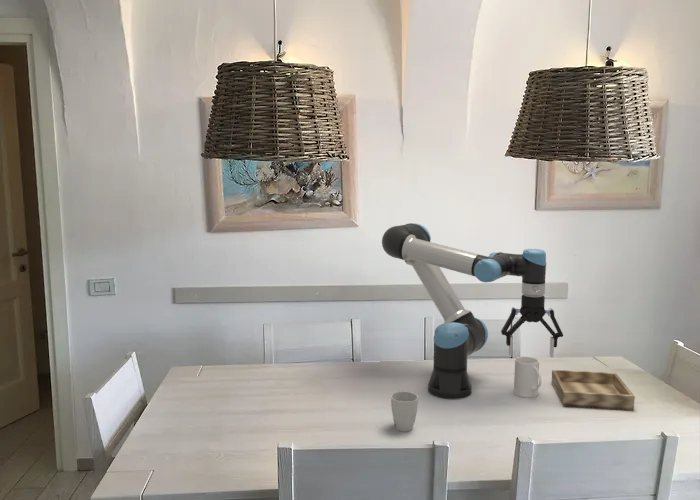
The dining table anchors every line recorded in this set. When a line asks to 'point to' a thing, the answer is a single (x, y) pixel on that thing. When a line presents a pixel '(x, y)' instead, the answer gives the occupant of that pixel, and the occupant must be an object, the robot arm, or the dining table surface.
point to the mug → (526, 377)
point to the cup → (404, 410)
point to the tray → (592, 390)
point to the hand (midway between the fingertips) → (530, 355)
